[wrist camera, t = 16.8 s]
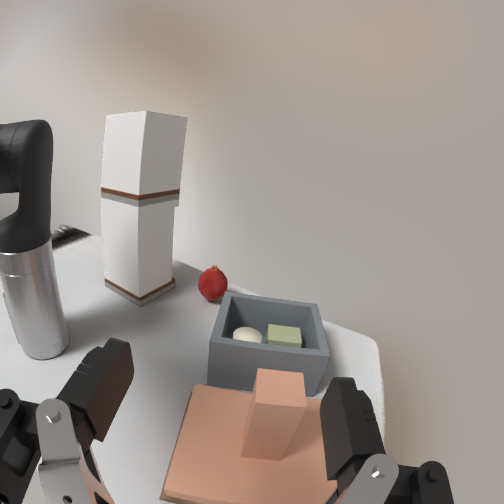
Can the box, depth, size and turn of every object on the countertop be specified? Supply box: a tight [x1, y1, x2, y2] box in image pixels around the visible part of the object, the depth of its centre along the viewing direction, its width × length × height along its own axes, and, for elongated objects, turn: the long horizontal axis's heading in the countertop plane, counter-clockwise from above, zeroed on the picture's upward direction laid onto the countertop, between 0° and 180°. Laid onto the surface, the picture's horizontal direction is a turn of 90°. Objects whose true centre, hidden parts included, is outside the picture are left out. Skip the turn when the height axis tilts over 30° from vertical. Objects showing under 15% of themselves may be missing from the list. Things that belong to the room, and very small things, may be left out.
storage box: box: [207, 291, 330, 397], centre depth 40 cm, size 15×13×8 cm
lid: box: [164, 368, 337, 504], centre depth 23 cm, size 17×15×12 cm
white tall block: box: [101, 111, 187, 307], centre depth 50 cm, size 11×11×35 cm
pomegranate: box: [198, 265, 228, 301], centre depth 55 cm, size 6×6×8 cm
